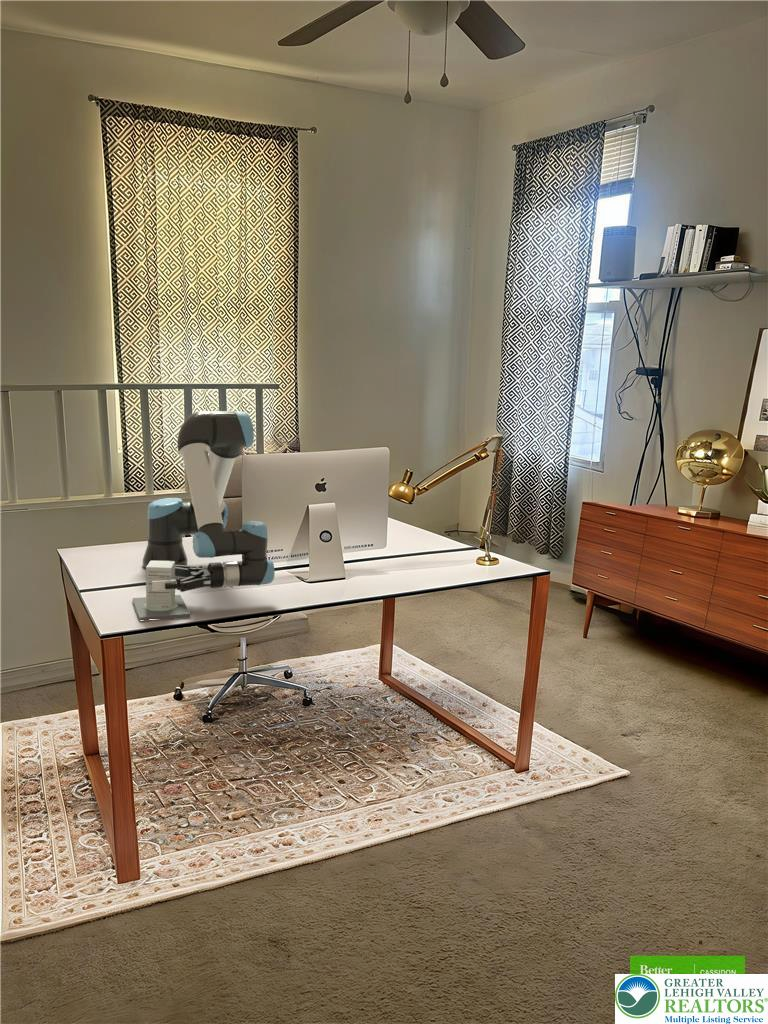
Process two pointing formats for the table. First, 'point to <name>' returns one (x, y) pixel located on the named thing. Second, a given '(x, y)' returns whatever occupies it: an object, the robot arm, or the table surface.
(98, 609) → the table surface
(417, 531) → the table surface
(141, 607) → the charging pad
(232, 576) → the robot arm
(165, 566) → the supplement box
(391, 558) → the table surface
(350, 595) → the table surface
